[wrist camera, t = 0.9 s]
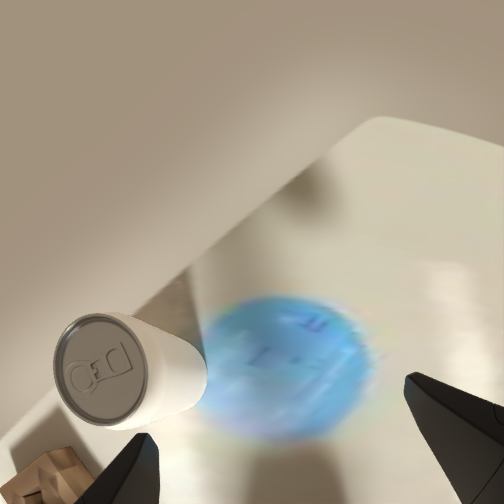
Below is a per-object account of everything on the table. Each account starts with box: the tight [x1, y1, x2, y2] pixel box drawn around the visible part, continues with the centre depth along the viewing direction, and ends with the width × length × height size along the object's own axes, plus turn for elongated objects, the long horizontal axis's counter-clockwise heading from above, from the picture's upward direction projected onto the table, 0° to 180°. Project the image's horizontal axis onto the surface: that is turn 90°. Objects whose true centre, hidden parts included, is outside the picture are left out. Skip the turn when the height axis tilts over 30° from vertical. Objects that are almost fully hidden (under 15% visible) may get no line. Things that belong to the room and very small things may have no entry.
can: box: [53, 313, 207, 430], centre depth 18 cm, size 6×6×12 cm
